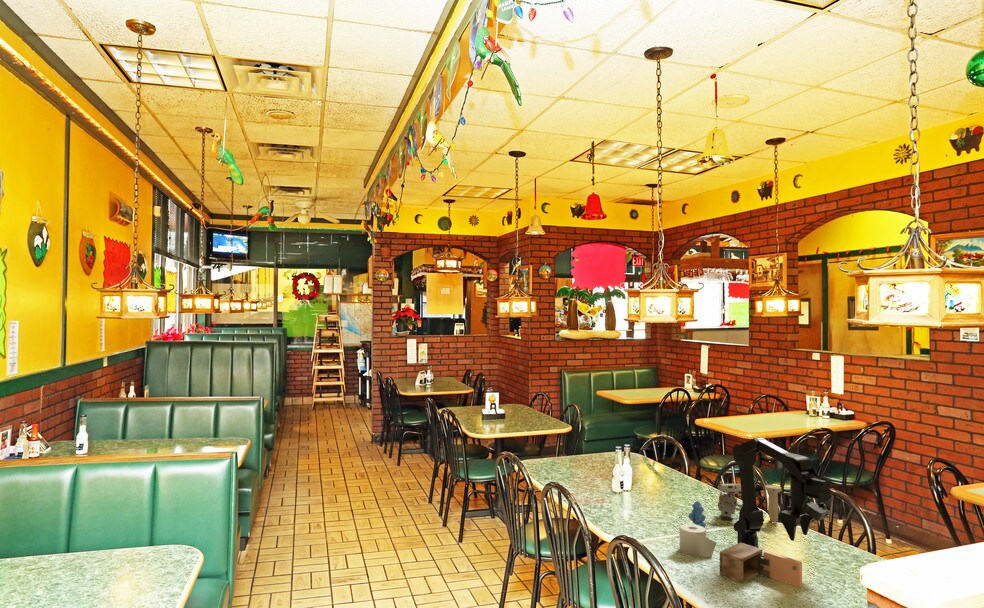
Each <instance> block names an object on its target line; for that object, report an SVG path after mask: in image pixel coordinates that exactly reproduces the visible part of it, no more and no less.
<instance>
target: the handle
mask: <svg viewBox="0 0 984 608" xmlns="http://www.w3.org/2000/svg"><path fill="white" fill-rule="evenodd" d="M764 486H765V487H764V489H765V490H766V491H767V492H768V506H767V509H768V518H770V520H769V522H770V523H778V521H779V520H778V513H779V497H778V494H779V493H780V492H782V487H781V486H778V485H771V484H770V485H769V484H768V485H767V484H766V485H764Z"/></svg>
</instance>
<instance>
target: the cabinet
mask: <svg viewBox="0 0 984 608" xmlns="http://www.w3.org/2000/svg"><path fill="white" fill-rule="evenodd" d="M761 555H763V548H760V547H759V548H757V547H754V546H751V545H747V544H744V543H741V542H740V543H738V544H737V543H735V544H734V545H731V546H729V547H727V548H725V549H723V550H720V551H719V576H720V577H724V578H727V579H730V580H733V582H734V581H735V582H737V583H741V584H743V583H745V582H747V581H749V580H751V579H753V578H754V577H756V576H758V557H759V556H761Z"/></svg>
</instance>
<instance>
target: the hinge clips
mask: <svg viewBox="0 0 984 608" xmlns="http://www.w3.org/2000/svg"><path fill="white" fill-rule="evenodd" d="M764 565H766V566H769V559H766V558H764V553H762V555H761V556H759V557H758V574H759V576H761V575H762V576H761V577H764V578H768V579H769V578H770V577H769V571H767V570H764Z"/></svg>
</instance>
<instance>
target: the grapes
mask: <svg viewBox="0 0 984 608" xmlns="http://www.w3.org/2000/svg"><path fill="white" fill-rule="evenodd" d="M691 507H692V511H691V513H689V515H688V516H687V517H688V518H689V520H690V521H691V522H693V524H694V525H699V526H702V527H704V528H705V529H706V526H707V525H706V523H705V522H704V521H705V520H706V516H705V514H703V513H704V510H705V509H704V507H703V506H702V504H701V501H698V500H697V501H695V502H694V503H693V504H692V506H691Z"/></svg>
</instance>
